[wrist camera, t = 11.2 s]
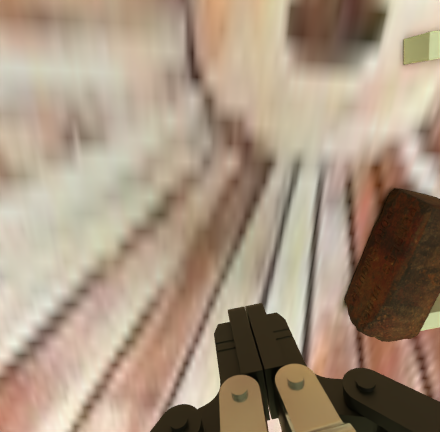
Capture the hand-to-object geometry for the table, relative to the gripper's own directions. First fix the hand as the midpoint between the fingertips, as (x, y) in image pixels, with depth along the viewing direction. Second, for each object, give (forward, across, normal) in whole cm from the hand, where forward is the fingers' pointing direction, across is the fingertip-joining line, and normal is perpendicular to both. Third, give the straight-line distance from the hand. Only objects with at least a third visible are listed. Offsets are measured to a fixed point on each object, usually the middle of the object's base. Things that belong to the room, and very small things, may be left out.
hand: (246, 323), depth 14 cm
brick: (+11, -13, +5) cm, 17 cm away
